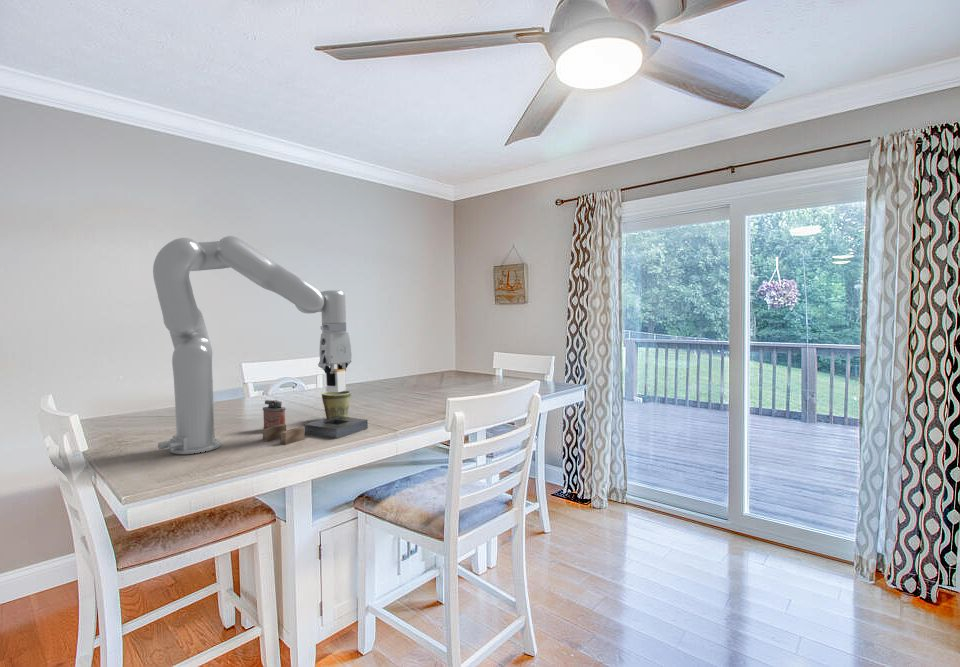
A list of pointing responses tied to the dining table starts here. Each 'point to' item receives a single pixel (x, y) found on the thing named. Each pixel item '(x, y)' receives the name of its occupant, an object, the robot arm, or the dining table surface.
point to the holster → (283, 434)
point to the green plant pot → (336, 403)
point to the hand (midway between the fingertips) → (336, 384)
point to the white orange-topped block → (338, 381)
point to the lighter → (273, 413)
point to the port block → (336, 426)
